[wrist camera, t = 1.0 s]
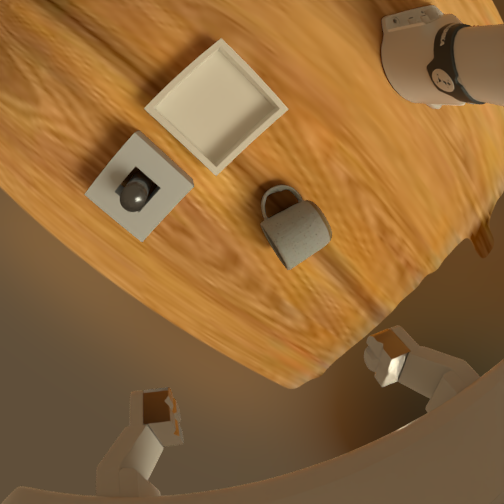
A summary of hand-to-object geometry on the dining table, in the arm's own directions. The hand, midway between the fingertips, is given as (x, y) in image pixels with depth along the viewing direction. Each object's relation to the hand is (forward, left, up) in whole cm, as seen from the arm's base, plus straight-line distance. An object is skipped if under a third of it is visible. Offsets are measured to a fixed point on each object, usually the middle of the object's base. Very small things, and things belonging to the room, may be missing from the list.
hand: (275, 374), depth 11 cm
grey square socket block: (+6, -6, -33) cm, 34 cm away
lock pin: (+6, -6, -33) cm, 34 cm away
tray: (-8, -6, -33) cm, 34 cm away
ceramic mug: (-4, +13, -33) cm, 36 cm away
